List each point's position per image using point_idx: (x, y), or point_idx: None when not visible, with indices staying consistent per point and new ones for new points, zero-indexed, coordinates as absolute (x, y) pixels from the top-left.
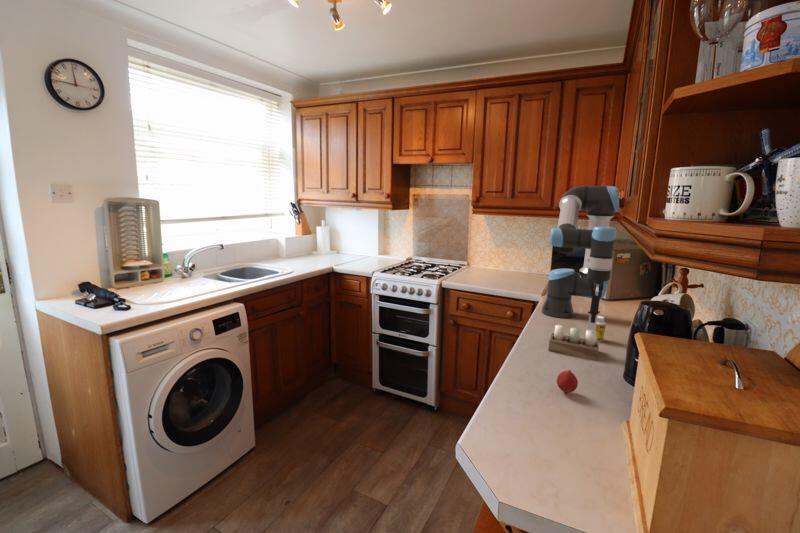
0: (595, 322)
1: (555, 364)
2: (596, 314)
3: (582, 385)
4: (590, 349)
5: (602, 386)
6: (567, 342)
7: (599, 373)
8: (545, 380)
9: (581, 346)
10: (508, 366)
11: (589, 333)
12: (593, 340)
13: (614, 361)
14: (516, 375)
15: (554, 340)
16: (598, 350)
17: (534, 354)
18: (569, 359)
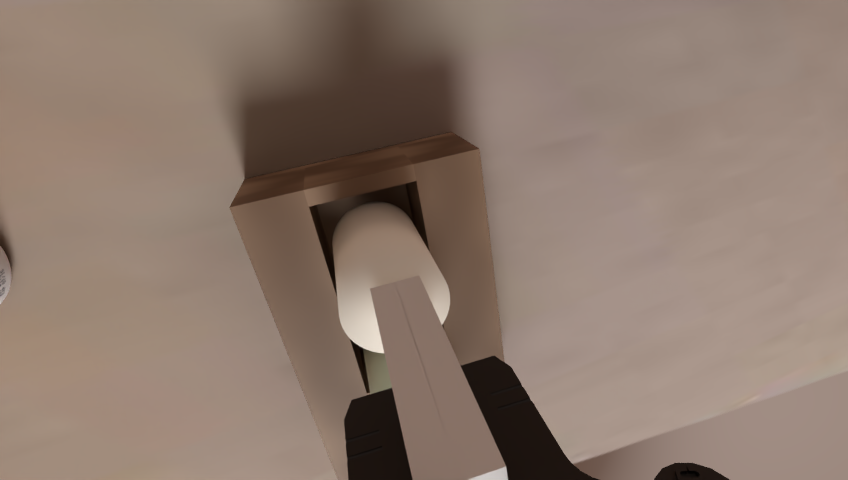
0: (453, 357)
1: (647, 293)
2: (565, 475)
3: (834, 114)
4: (483, 205)
5: (820, 18)
6: (462, 362)
7: (658, 70)
8: (826, 258)
9: (481, 271)
10: (748, 403)
11: (448, 302)
12: (415, 232)
13: (377, 11)
14: (814, 349)
15: None
16: (477, 148)
17: (577, 403)
18: (542, 267)
